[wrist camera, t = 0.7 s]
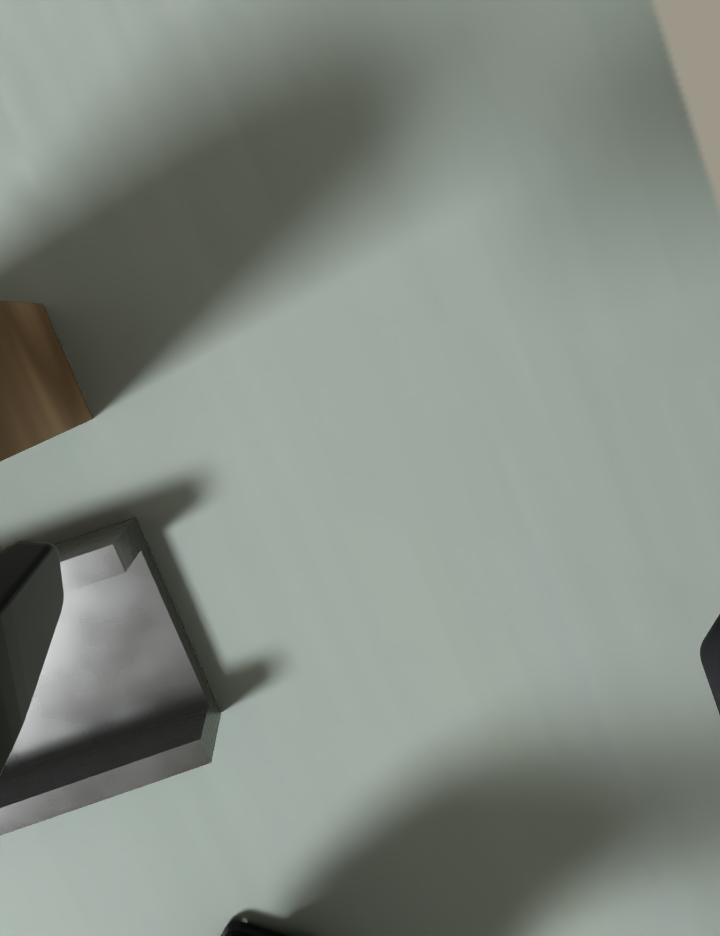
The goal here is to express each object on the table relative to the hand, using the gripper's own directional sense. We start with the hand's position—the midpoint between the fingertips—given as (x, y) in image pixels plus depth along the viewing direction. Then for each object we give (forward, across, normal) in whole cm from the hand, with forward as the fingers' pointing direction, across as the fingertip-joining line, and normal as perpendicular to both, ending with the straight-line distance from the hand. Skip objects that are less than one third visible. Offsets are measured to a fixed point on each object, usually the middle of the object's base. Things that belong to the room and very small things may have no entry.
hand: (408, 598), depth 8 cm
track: (+10, +10, +15) cm, 21 cm away
